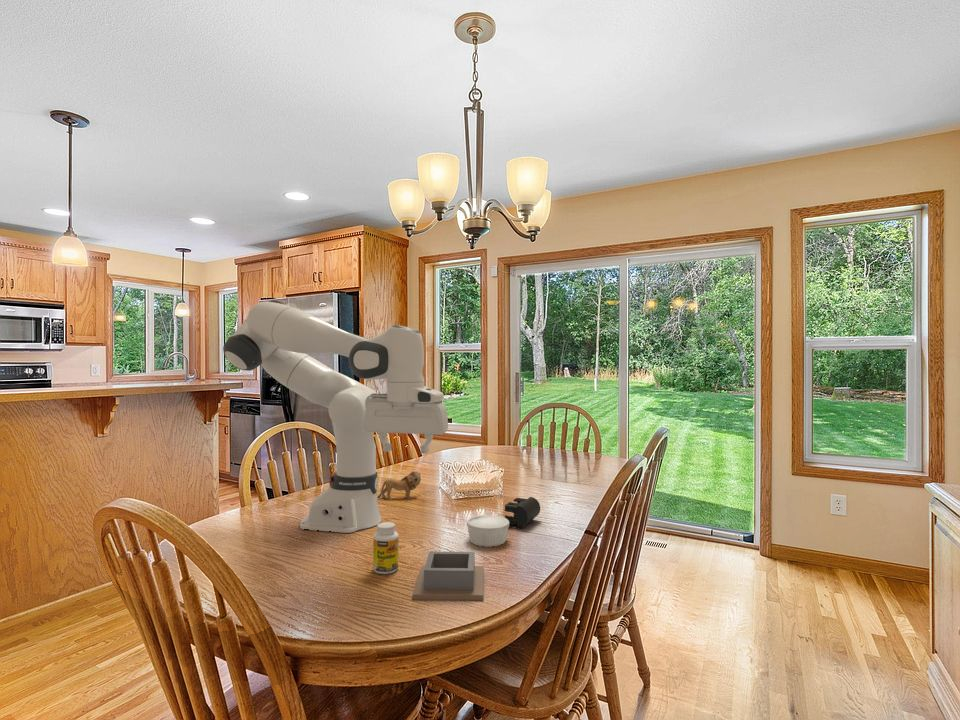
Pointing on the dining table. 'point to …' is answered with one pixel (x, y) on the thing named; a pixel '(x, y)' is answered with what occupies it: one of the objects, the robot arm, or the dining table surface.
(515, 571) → the dining table surface
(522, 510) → the end cap
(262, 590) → the dining table surface
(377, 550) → the supplement bottle
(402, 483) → the lion figurine
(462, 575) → the socket holder
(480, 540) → the ramekin
